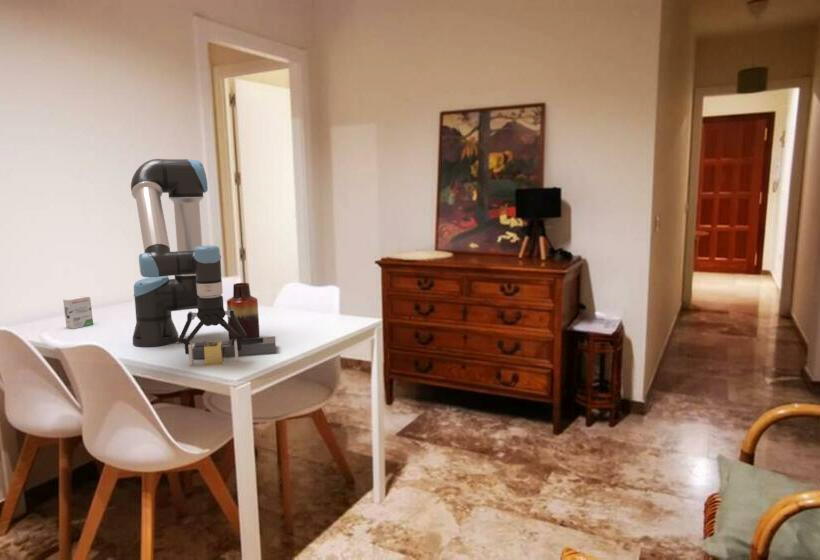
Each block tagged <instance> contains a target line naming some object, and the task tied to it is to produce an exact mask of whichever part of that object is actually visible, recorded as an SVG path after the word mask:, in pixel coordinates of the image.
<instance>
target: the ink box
mask: <svg viewBox="0 0 820 560" xmlns="http://www.w3.org/2000/svg"><path fill="white" fill-rule="evenodd" d="M91 302H92V300H91V297H90V296H77V297H71V298H65V299H63V310H64V317H65V326H66V328H67V329H71V330H74V329H79V328H83V327H88V326H92V325H94V320H93V319H94V318H93V310H92V303H91Z"/></svg>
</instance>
